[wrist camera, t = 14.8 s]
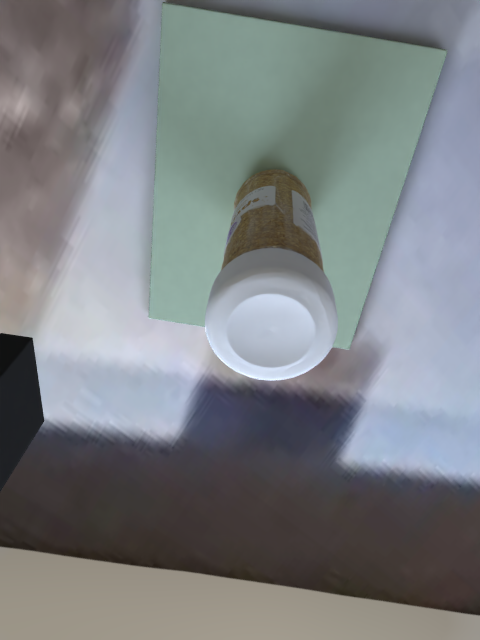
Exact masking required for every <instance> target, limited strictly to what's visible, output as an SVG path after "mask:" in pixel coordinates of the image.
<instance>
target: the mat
mask: <svg viewBox="0 0 480 640" xmlns="http://www.w3.org/2000/svg"><path fill="white" fill-rule="evenodd" d="M446 55H447V50H445V49H439V48H433V47H427V46H421V45H415V44H409V43H403V42H397V41H391V40H385V39H380V38H374V37H368V36H362V35H356V34H350V33H344V32H338V31H332V30H326V29H320V28H314V27H308V26H302V25H297V24H291V23H285V22H279V21H273V20H267V19H261V18H255V17H249V16H243V15H237V14H231V13H225V12H219V11H214V10H208V9H202V8H196V7H190V6H184V5H178V4H172V3H166V2H163V3H162V22H161V45H160V68H159V91H158V114H157V137H156V160H155V183H154V206H153V229H152V252H151V275H150V298H149V318H151V319H157V320H164V321H170V322H176V323H183V324H189V325H196V326H202V327H205V314H206V308H207V304H208V299H209V295H210V292H211V288H212V286H213V283H214V281H215V279H216V277H217V276H218V274H219V273H220V271H221V268H222V264H223V257H224V250H225V246H226V242H227V237H228V233H229V228H230V224H231V219H232V216H233V213H234V201H235V198H236V194H237V192H238V191H239V189H240V188H241V186H242V185H243V183H244V182H245V181H246V180H248V179H249V178H250V177H251V176H253V175H254V174H256V173H259V172H261V171H265V170H271V169H278V170H284V171H286V172H288V173H290V174H292V175H294V176H296V177H297V178H298V179H299V180H300V181H301V182H302V183H303V184H304V185H305V187H306V189H307V191H308V193H309V195H310V198H311V208H312V209H311V210H312V212H313V216H314V221H315V225H316V230H317V235H318V239H319V244H320V249H321V253H322V258H323V270H324V273H325V275H326V276H327V278H328V280H329V281H330V284H331V287H332V289H333V293H334V298H335V303H336V309H337V316H338V330H337V335H336V339H335V341H334V344H333V346H332V347H336V348H342V349H350V346H351V343H352V340H353V337H354V334H355V331H356V328H357V325H358V322H359V319H360V316H361V313H362V309H363V306H364V303H365V300H366V297H367V294H368V291H369V288H370V285H371V282H372V279H373V276H374V273H375V270H376V267H377V264H378V261H379V258H380V255H381V252H382V249H383V246H384V243H385V240H386V237H387V234H388V231H389V228H390V225H391V222H392V219H393V215H394V212H395V209H396V206H397V203H398V200H399V197H400V194H401V191H402V188H403V185H404V182H405V179H406V176H407V173H408V170H409V167H410V164H411V161H412V158H413V155H414V152H415V149H416V146H417V143H418V140H419V137H420V134H421V131H422V128H423V125H424V122H425V118H426V115H427V112H428V109H429V106H430V103H431V100H432V97H433V94H434V91H435V88H436V85H437V82H438V79H439V76H440V73H441V70H442V67H443V64H444V61H445V58H446Z"/></svg>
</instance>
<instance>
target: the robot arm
mask: <svg viewBox="0 0 480 640" xmlns="http://www.w3.org/2000/svg"><path fill="white" fill-rule="evenodd" d="M43 422H44V416H43V409H42V402H41V395H40V388H39V381H38V373H37V366H36V359H35V352H34V345H33V338H30V337H23V336H17V335H10V334H3V333H1V334H0V491H1V490H2V488H3V487H4V485H5V483H6V482H7V480H8V478H9V477H10V475H11V474H12V472H13V470H14V469H15V467H16V466H17V464H18V462H19V461H20V459H21V457H22V456H23V454H24V453H25V451H26V449H27V448H28V446H29V445H30V443H31V441H32V440H33V438H34V437H35V435H36V433H37V432H38V430H39V428H40V427H41V425H42V424H43Z"/></svg>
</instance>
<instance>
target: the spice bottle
mask: <svg viewBox="0 0 480 640" xmlns="http://www.w3.org/2000/svg"><path fill="white" fill-rule="evenodd" d="M311 209H312V208H311V198H310V195H309V193H308V191H307V189H306V187H305V185H304V184H303V183H302V182H301V181H300V180H299V179H298V178H297V177H296V176H294V175H292V174H290V173H288V172H286V171H284V170H278V169H271V170H265V171H261V172H259V173H256V174H254V175H253V176H251V177H250V178H249V179H248V180H246V181H245V182H244V183H243V185H242V186H241V188H240V189H239V191H238V192H237V194H236V198H235V201H234V213H233V216H232V219H231V224H230V228H229V233H228V237H227V242H226V246H225V250H224V257H223V264H222V268H221V271H220V273H219V274H218V276H217V277H216V279H215V281H214V283H213V286H212V288H211V292H210V295H209V299H208V304H207V308H206V314H205V330H206V335H207V338H208V341H209V343H210V346H211V347H212V349H213V351H214V352H215V354H216V355H217V356H218V357H219V358H220V359H221V361H222V362H224V363H225V364H226V365H227V366H228V367H230V368H231V369H233V370H235V371H236V372H238V373H241V374H243V375H245V376H248V377H251V378H255V379H261V380H282V379H288V378H292V377H296V376H298V375H301V374H303V373H305V372H307V371H309V370H311V369H312V368H313V367H315V366H316V365H318V364H319V363H320V362H321V361H322V360H323V359H324V358H325V356H326V355H327V354H328V352H329V351H330V349H331V348H332V346H333V344H334V341H335V339H336V335H337V330H338V316H337V309H336V303H335V298H334V293H333V289H332V287H331V284H330V281H329V280H328V278H327V276H326V275H325V273H324V270H323V258H322V253H321V249H320V244H319V239H318V235H317V230H316V225H315V221H314V216H313V212H312V210H311Z"/></svg>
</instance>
